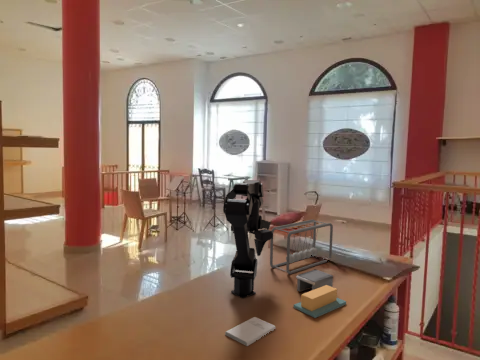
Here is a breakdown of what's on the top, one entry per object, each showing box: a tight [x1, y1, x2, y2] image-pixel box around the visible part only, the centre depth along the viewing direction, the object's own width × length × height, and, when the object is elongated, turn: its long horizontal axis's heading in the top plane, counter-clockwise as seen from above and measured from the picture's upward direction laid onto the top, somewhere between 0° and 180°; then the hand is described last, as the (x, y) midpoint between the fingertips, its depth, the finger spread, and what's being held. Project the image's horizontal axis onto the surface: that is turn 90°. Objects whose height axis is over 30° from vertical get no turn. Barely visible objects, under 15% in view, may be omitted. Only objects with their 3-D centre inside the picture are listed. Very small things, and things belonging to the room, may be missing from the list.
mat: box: [293, 297, 347, 319], centre depth 124 cm, size 16×9×1 cm, turn 129°
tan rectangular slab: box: [300, 285, 338, 311], centre depth 123 cm, size 13×4×4 cm, turn 130°
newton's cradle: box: [269, 219, 334, 275], centre depth 164 cm, size 30×10×18 cm, turn 131°
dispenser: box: [295, 269, 334, 293], centre depth 135 cm, size 11×8×6 cm
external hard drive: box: [224, 316, 276, 347], centre depth 106 cm, size 2×8×12 cm
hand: (250, 252), depth 144 cm, fingers open, 9 cm apart
